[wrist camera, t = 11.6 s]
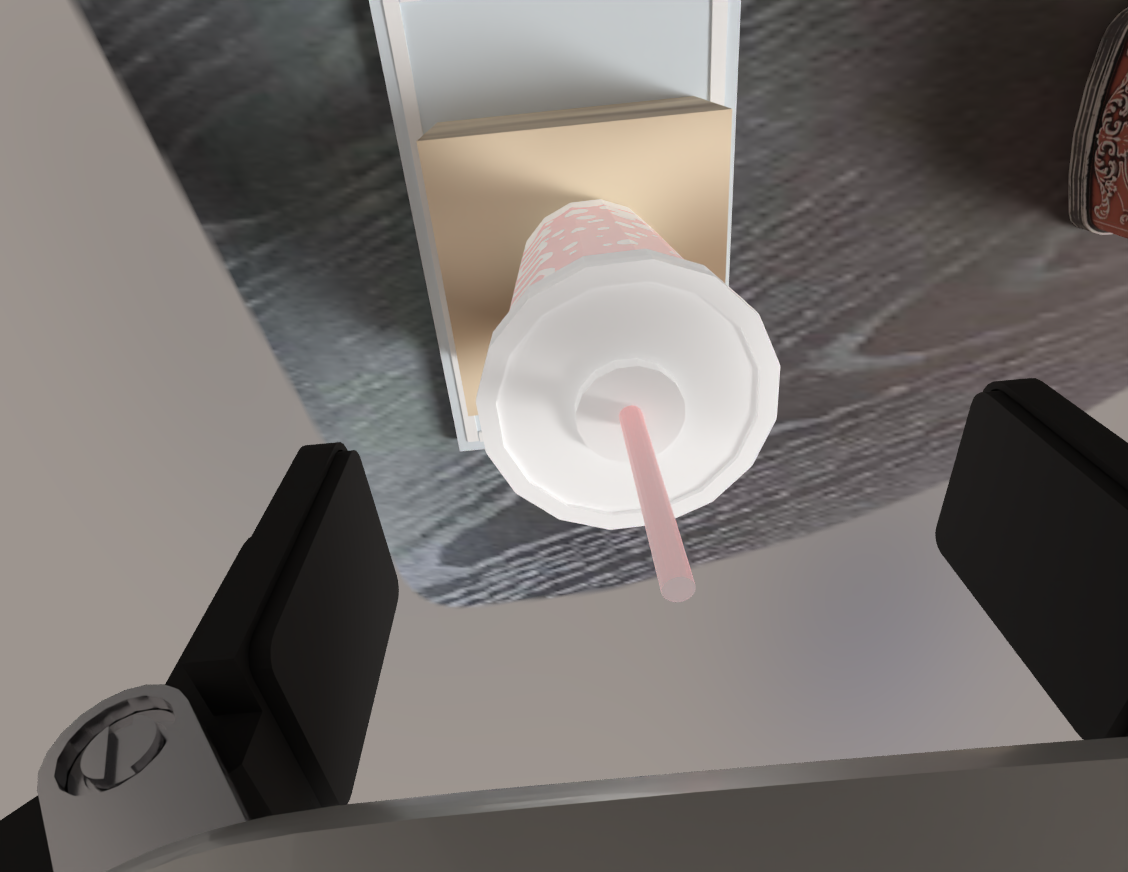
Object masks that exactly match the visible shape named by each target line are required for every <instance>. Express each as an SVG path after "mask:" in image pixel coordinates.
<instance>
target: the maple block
mask: <svg viewBox="0 0 1128 872" xmlns="http://www.w3.org/2000/svg"><path fill="white" fill-rule="evenodd" d="M731 131H732V109H731V108H728V107H725V106H722V105H719V104H716V103H713V102H710V101H707V100H704V99H701V98H698V97H695V96H690V97H680V98H670V99H660V100H651V101H641V102H631V103H622V104H612V105H602V106H592V107H583V108H573V109H563V110H553V111H544V112H534V113H524V114H515V115H505V116H495V117H485V118H476V119H466V120H456V121H446V122H437V123H436V124H435V125H434V126H433V127H432V128H430V129H429V130H428V131H427V132H426V133H425V134H424V135H423V136H422V137H421V138H420V139H418V140H417V141H416V142H417V147H418V152H419V158H420V163H421V168H422V174H423V179H424V184H425V189H426V195H427V200H428V205H429V211H430V216H431V221H432V227H433V232H434V237H435V243H436V248H437V253H438V258H439V264H440V269H441V274H442V280H443V285H444V290H445V296H446V301H447V306H448V311H449V317H450V322H451V327H452V333H453V338H454V343H455V349H456V354H457V359H458V364H459V370H460V375H461V380H462V386H463V391H464V396H465V402H466V407H467V412H468V416H475V415H478V411H477V406H476V396H477V392H478V388H479V384H480V380H481V376H482V372H483V368H484V364H485V360H486V356H487V352H488V348H489V344H490V341H491V337H492V333H493V331H494V330H495V329H496V327H497V326H498V325H499V324H500V322H501V321H502V320H503V319H504V317H505V316H506V315H507V314H508V312H509V310H510V306H511V301H512V297H513V293H514V289H515V285H516V281H517V277H518V272H519V268H520V264H521V261H522V257H523V253H524V249H525V245H526V241H527V240H528V239H529V237H530V236H531V235H532V233H533V232H534V231H535V230H536V228H537V227H538V226H539V224H540V223H541V222H542V220H543V219H544V218H545V217H547V216H548V215H550V214H552V213H554V212H555V211H557V210H559V209H561V208H562V207H564V206H566V205H567V204H569V203H572V202H581V201H589V200H597V199H602V200H605V201H608V202H612V203H615V204H618V205H622V206H625V207H628V208H630V209H631V210H632V211H633V212H634V213H635V214H636V215H638V216H639V217H640V218H641V219H642V220H643V221H645V222H646V223H647V224H648V225H649V226H650V227H651V228H652V229H653V230H654V231H655V232H656V233H658V234H659V235H660V236H661V237H662V238H663V239H664V240H665V241H666V242H667V243H668V244H669V245H670V246H671V247H672V248H673V249H674V250H675V251H676V252H677V253H678V254H679V255H680V256H681V257H682V258H683V259H684V260H688V261H691V262H695V263H698V264H702V265H704V266H706V267H707V268H708V269H709V270H710V271H711V272H712V273H714V274H715V275H716V276H717V277H718V278H719V279H720V280H722V281H723V282H724V283H725V279H726V255H727V230H728V205H729V180H730V156H731Z"/></svg>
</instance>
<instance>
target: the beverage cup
mask: <svg viewBox="0 0 1128 872" xmlns="http://www.w3.org/2000/svg"><path fill="white" fill-rule="evenodd" d="M779 377H780V364H779V361H778V359H777V357H776V354H775V352H774V349H773V347H772V344H771V342H770V339H769V337H768V335H767V332H766V330H765V327H764V325H763V322H762V320H761V317H760V315H759V314H758V313H757V312H756V310H755V309H753V308H752V307H751V306H750V305H749V304H748V303H746V301H745V300H744V299H742V298H741V297H740V296H739V295H738V294H737V293H735V292H734V291H733V290H732V289H731V288H730V287H729V286H727V285H726V284H725V283H724V282H723V281H722V280H720V279H719V278H718V277H717V276H716V275H715V274H714V273H712V272H711V271H710V270H709V269H708V268H707V267H706V266H704V265H702V264H698V263H695V262H691V261H688V260H684V259H683V258H682V257H681V256H680V255H679V254H678V253H677V252H676V251H675V250H674V249H673V248H672V247H671V246H670V245H669V244H668V243H667V242H666V241H665V240H664V239H663V238H662V237H661V236H660V235H659V234H658V233H656V232H655V231H654V230H653V229H652V228H651V227H650V226H649V225H648V224H647V223H646V222H645V221H643V220H642V219H641V218H640V217H639V216H638V215H636V214H635V213H634V212H633V211H632V210H631V209H630V208H628V207H625V206H622V205H618V204H615V203H612V202H608V201H605V200H602V199H597V200H589V201H581V202H572V203H569V204H567V205H566V206H564V207H562V208H561V209H559V210H557V211H555V212H554V213H552V214H550V215H548V216H547V217H545V218H544V219H543V220H542V222H541V223H540V224H539V226H538V227H537V228H536V230H535V231H534V232H533V233H532V235H531V236H530V237H529V239H528V240H527V241H526V245H525V249H524V253H523V257H522V261H521V264H520V268H519V272H518V277H517V281H516V285H515V289H514V293H513V297H512V301H511V306H510V310H509V312H508V314H507V315H506V316H505V317H504V319H503V320H502V321H501V322H500V324H499V325H498V326H497V327H496V329H495V330H494V331H493V333H492V337H491V341H490V344H489V348H488V352H487V356H486V360H485V364H484V368H483V372H482V376H481V380H480V384H479V388H478V392H477V396H476V406H477V411H478V416H479V421H480V426H481V430H482V435H483V440H484V445H485V450H486V453H487V455H488V456H489V457H490V459H491V460H492V461H493V463H494V464H495V466H496V467H497V468H498V470H499V471H500V472H501V474H502V475H503V476H504V478H505V479H506V481H507V482H508V483H509V485H510V486H511V487H512V489H513V490H514V491H515V493H516V494H518V495H520V496H521V497H523V498H525V499H526V500H528V501H530V502H531V503H533V504H535V505H536V506H538V507H540V508H541V509H543V510H545V511H546V512H548V513H549V514H551V515H553V516H554V517H556V518H558V519H560V520H565V521H570V522H575V523H580V524H585V525H589V526H594V527H599V528H604V529H609V530H612V529H621V528H629V527H638V526H645V528H646V532H647V536H648V540H649V544H650V548H651V552H652V557H653V561H654V565H655V569H656V573H657V577H658V581H659V585H660V590H661V593H662V595H663V597H664V598H665V599H666V600H668V601H671V602H682V601H685V600H687V599H689V598H690V597H691V596H692V595H693V594H694V592H695V590H696V586H695V582H694V579H693V575H692V572H691V569H690V566H689V562H688V559H687V556H686V553H685V549H684V546H683V543H682V540H681V536H680V533H679V530H678V527H677V523H676V520H675V518H677V517H679V516H681V515H684V514H686V513H688V512H690V511H693V510H695V509H697V508H699V507H702V506H704V505H706V504H708V503H711V502H713V501H714V500H715V499H716V498H717V497H718V496H719V495H720V494H721V493H723V492H724V491H725V490H726V489H727V488H728V487H729V486H730V485H731V484H732V483H734V482H735V481H736V480H737V479H738V478H739V477H740V476H741V475H742V474H743V473H745V472H746V471H747V470H748V469H749V468H750V467H751V466H752V465H753V463H754V461H755V459H756V457H757V455H758V453H759V451H760V450H761V448H762V446H763V444H764V442H765V440H766V438H767V436H768V434H769V432H770V430H771V428H772V426H773V425H774V423H775V421H776V419H777V406H778V392H779Z"/></svg>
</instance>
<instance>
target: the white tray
mask: <svg viewBox="0 0 1128 872" xmlns="http://www.w3.org/2000/svg"><path fill="white" fill-rule="evenodd" d="M369 4H370V9H371V14H372V19H373V24H374V29H375V33H376V38H377V43H378V48H379V53H380V58H381V63H382V68H383V73H384V78H385V83H386V88H387V93H388V98H389V103H390V108H391V112H392V117H393V122H394V127H395V132H396V137H397V142H398V147H399V152H400V157H401V162H402V167H403V172H404V177H405V182H406V187H407V192H408V196H409V201H410V206H411V211H412V216H413V221H414V226H415V231H416V236H417V241H418V246H419V251H420V256H421V261H422V266H423V271H424V276H425V280H426V285H427V290H428V295H429V300H430V305H431V310H432V315H433V320H434V325H435V330H436V335H437V340H438V345H439V350H440V355H441V359H442V364H443V369H444V374H445V379H446V384H447V389H448V394H449V399H450V404H451V409H452V414H453V419H454V424H455V429H456V434H457V439H458V443H459V448H460V451H469V450H479V449H485V445H484V440H483V435H482V430H481V426H480V421H479V416H478V415H475V416H468V412H467V407H466V402H465V396H464V391H463V386H462V380H461V375H460V370H459V364H458V359H457V354H456V349H455V343H454V338H453V333H452V327H451V322H450V317H449V311H448V306H447V301H446V296H445V290H444V285H443V280H442V274H441V269H440V264H439V258H438V253H437V248H436V243H435V237H434V232H433V227H432V221H431V216H430V211H429V205H428V200H427V195H426V189H425V184H424V179H423V174H422V168H421V163H420V158H419V152H418V147H417V142H416V141H417V140H418V139H420V138H421V137H422V136H423V135H424V134H425V133H426V132H427V131H428V130H429V129H430V128H432V127H433V126H434V125H435V124H436V123H437V122H446V121H456V120H466V119H476V118H485V117H495V116H505V115H515V114H524V113H534V112H544V111H553V110H563V109H573V108H583V107H592V106H602V105H612V104H622V103H631V102H641V101H651V100H660V99H670V98H680V97H690V96H695V97H698V98H701V99H704V100H707V101H710V102H713V103H716V104H719V105H722V106H725V107H728V108H731V109H732V131H731V156H730V180H729V205H728V230H727V255H726V279H725V284H726V285H727V286H729V265H730V242H731V218H732V195H733V172H734V149H735V126H736V102H737V79H738V56H739V33H740V10H741V0H369Z"/></svg>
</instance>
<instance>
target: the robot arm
mask: <svg viewBox="0 0 1128 872" xmlns="http://www.w3.org/2000/svg"><path fill="white" fill-rule="evenodd" d="M935 533H936V542H937V545H938V548H939V550H940V552H941V554H942V555H943V556H944V557H945V559H946V560H947V562H948V563H949V564H950V565H951V567H952V568H953V570H954V571H955V572H956V573H957V575H958V576H959V577H960V579H961V580H962V581H963V583H964V584H965V585H966V587H967V588H968V589H969V591H970V592H971V593H972V595H973V596H974V597H975V599H976V600H977V601H978V603H979V604H980V605H981V607H982V608H983V609H984V610H985V612H986V613H987V615H988V616H989V617H990V618H991V620H992V621H993V622H994V624H995V625H996V626H997V628H998V629H999V630H1000V631H1001V633H1002V634H1003V636H1004V637H1005V638H1006V640H1007V641H1008V642H1009V644H1010V645H1011V646H1012V648H1013V649H1014V650H1015V651H1016V653H1017V654H1018V656H1019V657H1020V658H1021V659H1022V661H1023V662H1024V663H1025V664H1026V666H1027V667H1028V669H1029V670H1030V671H1031V672H1032V674H1033V675H1034V677H1035V678H1036V679H1037V680H1038V682H1039V683H1040V685H1041V686H1042V687H1043V689H1044V690H1045V691H1046V692H1047V694H1048V695H1049V697H1050V698H1051V699H1052V701H1053V702H1054V703H1055V704H1056V706H1057V707H1058V708H1059V710H1060V711H1061V712H1062V714H1063V715H1064V716H1065V718H1066V719H1067V720H1068V722H1069V723H1070V724H1071V725H1072V727H1073V728H1074V730H1075V731H1076V732H1077V733H1078V734H1079V736H1080V737H1081V738H1082V739H1084V740H1079V741H1066V742H1053V743H1040V744H1027V745H1014V746H1001V747H990V748H989V747H988V748H975V749H963V750H950V751H938V752H925V753H913V754H901V755H889V756H877V757H865V758H853V759H840V760H828V761H816V762H804V763H792V764H780V765H768V766H756V767H744V768H732V769H720V770H708V771H697V772H684V773H674V774H663V775H651V776H640V777H628V778H616V779H605V780H595V781H583V782H571V783H560V784H549V785H538V786H526V787H515V788H504V789H492V790H481V791H471V792H461V793H451V794H443V795H432V796H423V797H414V798H404V799H395V800H385V801H375V802H367V803H357V804H348V802H349V800H350V797H351V794H352V790H353V785H354V781H355V777H356V773H357V769H358V765H359V760H360V756H361V752H362V748H363V744H364V739H365V735H366V731H367V727H368V723H369V719H370V715H371V710H372V706H373V702H374V698H375V694H376V689H377V685H378V681H379V676H380V673H381V669H382V664H383V660H384V656H385V652H386V647H387V643H388V639H389V635H390V631H391V627H392V623H393V619H394V614H395V610H396V606H397V602H398V592H399V589H398V579H397V575H396V572H395V568H394V565H393V562H392V559H391V556H390V552H389V549H388V546H387V543H386V539H385V536H384V533H383V530H382V526H381V523H380V520H379V517H378V513H377V510H376V507H375V504H374V500H373V497H372V494H371V491H370V487H369V484H368V481H367V478H366V474H365V471H364V468H363V465H362V462H361V459H360V456H359V454H358V453H357V451H355V450H353V451H347V448H346V447H345V446H344V444H342V443H341V442H337V443H326V444H316V445H305V446H302V447H301V448H300V450H299V451H298V453H297V455H296V457H295V458H294V460H293V462H292V464H291V466H290V468H289V469H288V471H287V473H286V475H285V477H284V478H283V480H282V482H281V484H280V486H279V488H278V489H277V491H276V493H275V495H274V496H273V499H272V500H271V502H270V504H269V506H268V507H267V509H266V511H265V513H264V515H263V516H262V518H261V520H260V522H259V524H258V525H257V527H256V529H255V531H254V533H253V534H252V536H251V537H250V538H248V540H247V541H246V542H245V543H244V545H243V546H242V548H241V550H240V551H239V553H238V555H237V557H236V559H235V560H234V562H233V564H232V566H231V568H230V570H229V571H228V573H227V575H226V577H225V578H224V580H223V582H222V584H221V585H220V587H219V589H218V591H217V593H216V594H215V596H214V598H213V600H212V602H211V603H210V605H209V607H208V609H207V611H206V613H205V614H204V616H203V618H202V619H201V621H200V623H199V625H198V627H197V628H196V630H195V632H194V634H193V636H192V637H191V639H190V641H189V643H188V645H187V646H186V648H185V650H184V652H183V654H182V656H181V657H180V659H179V661H178V663H177V664H176V666H175V668H174V670H173V671H172V673H171V675H170V677H169V679H168V680H167V682H166V684H165V685H162V684H160V685H143V686H139V687H135V688H131V689H127V690H124V691H122V692H120V693H118V694H115V695H113V696H111V697H109V698H107V699H105V700H103V701H101V702H100V703H98V704H97V705H95V706H94V707H93V708H91V709H89V710H88V711H86V712H85V713H83V714H82V715H80V716H79V717H78V718H77V719H76V720H75V721H74V722H73V723H72V724H71V725H70V726H69V727H68V728H66V729H65V730H64V731H63V732H62V733H61V734H60V736H59V737H58V739H57V740H56V741H55V742H54V744H53V745H52V747H51V748H50V749H49V750H48V752H47V754H46V756H45V758H44V760H43V763H42V765H41V767H40V770H39V772H38V786H37V792H38V796H36V797H35V798H33V799H32V800H30V801H29V802H27V803H26V804H24V805H23V806H21V807H20V808H18V809H17V810H15V811H14V812H12V813H11V814H9V815H8V816H6V817H5V818H3V819H2V820H0V872H1128V443H1127V442H1126V441H1124V440H1123V439H1122V438H1120V437H1119V436H1117V435H1116V434H1114V433H1113V432H1112V431H1110V430H1109V429H1108V428H1106V427H1105V426H1103V425H1102V424H1101V423H1099V422H1098V421H1096V420H1095V419H1093V418H1092V417H1091V416H1089V415H1088V414H1087V413H1085V412H1084V411H1083V410H1081V409H1080V408H1078V407H1077V406H1076V405H1074V404H1073V403H1071V402H1070V401H1069V400H1067V399H1066V398H1064V397H1063V396H1062V395H1060V394H1059V393H1057V392H1056V391H1055V390H1053V389H1052V388H1051V387H1049V386H1048V385H1046V384H1045V383H1044V382H1042V381H1040V380H1038V379H1036V378H1028V379H1017V380H1006V381H995V382H992V383H990V384H988V385H987V386H986V388H985V389H984V390H983V392H981V393H979V394H977V395H976V396H975V397H974V399H973V401H972V403H971V407H970V411H969V414H968V418H967V421H966V425H965V428H964V432H963V435H962V439H961V442H960V446H959V449H958V453H957V456H956V460H955V463H954V467H953V470H952V474H951V477H950V481H949V485H948V488H947V491H946V495H945V498H944V502H943V506H942V509H941V513H940V516H939V520H938V523H937V527H936V532H935Z"/></svg>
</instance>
